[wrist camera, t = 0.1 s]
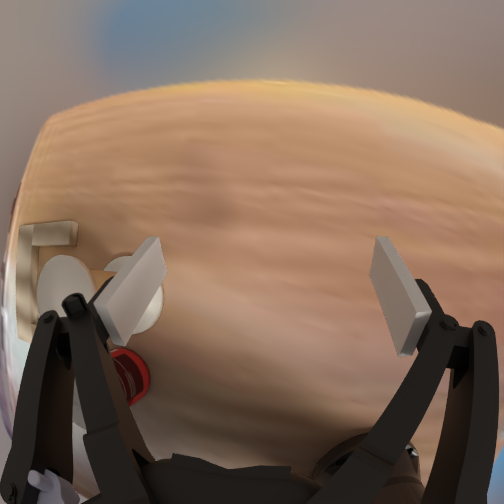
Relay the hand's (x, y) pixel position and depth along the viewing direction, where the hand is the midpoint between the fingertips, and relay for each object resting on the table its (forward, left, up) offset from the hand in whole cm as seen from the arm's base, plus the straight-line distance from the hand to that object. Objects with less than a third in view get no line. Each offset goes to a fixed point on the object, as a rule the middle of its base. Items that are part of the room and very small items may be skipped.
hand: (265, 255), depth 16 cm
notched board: (-4, +36, -15) cm, 40 cm away
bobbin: (-4, +18, -15) cm, 24 cm away
